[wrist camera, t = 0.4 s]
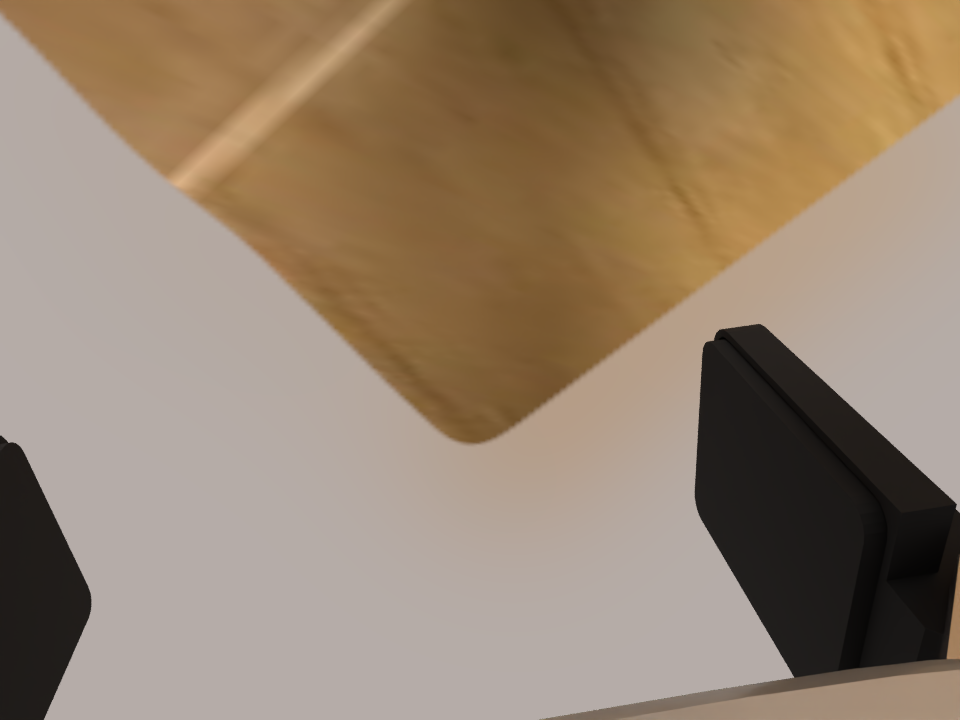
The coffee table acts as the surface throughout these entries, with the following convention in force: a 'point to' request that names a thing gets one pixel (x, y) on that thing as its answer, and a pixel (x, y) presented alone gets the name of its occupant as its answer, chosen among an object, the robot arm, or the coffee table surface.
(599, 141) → the coffee table surface
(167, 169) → the coffee table surface
